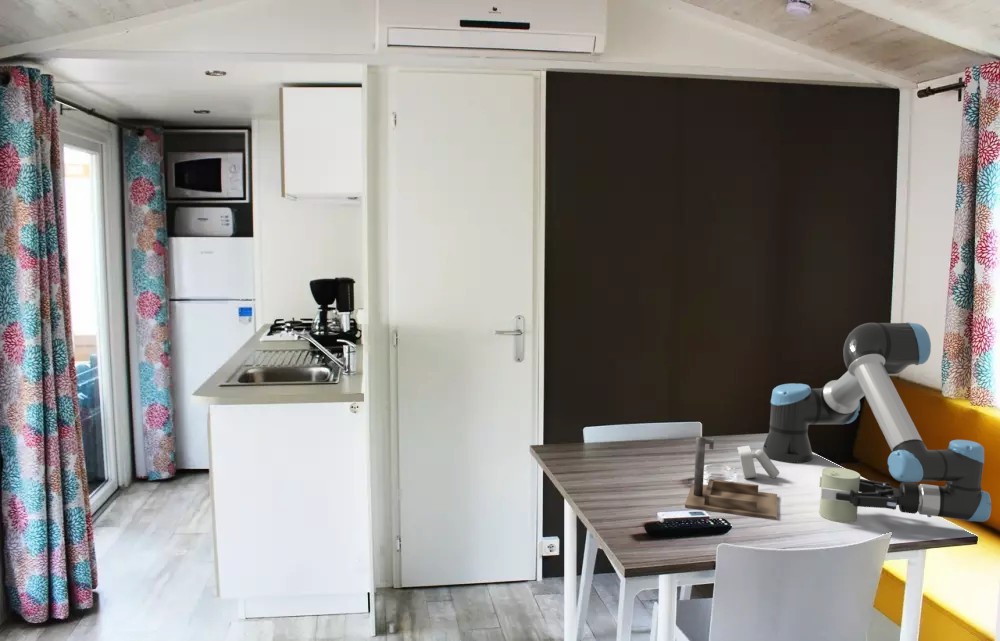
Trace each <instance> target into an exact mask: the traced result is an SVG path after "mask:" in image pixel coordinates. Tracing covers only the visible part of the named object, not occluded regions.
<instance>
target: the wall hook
mask: <svg viewBox="0 0 1000 641" xmlns="http://www.w3.org/2000/svg"><path fill="white" fill-rule="evenodd" d="M737 452H738V457H739V462H740V467H741V471H742V475H743V477H744V479H745V480H746V479H753V478H757V471H756V468H755V463H754V462H755V461H754V459H756V460H757V462H759V464H760V466H761V467H762V468H763V469H764V471H765V472H766V473H767V475H768V476H769V478H770V479H775V478H776V477H778V476H779V474H780V471H779V470H778V468H777V467H776V465H775V464H774V463H773V461H772V460H771V458H769V457H768V456H767V455H766V453H765V452H764V451H763V449H756V451H754V452H755V453H752V450H751V447H750V445H742V446H737Z"/></svg>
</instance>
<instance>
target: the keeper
mask: <svg viewBox="0 0 1000 641" xmlns="http://www.w3.org/2000/svg"><path fill="white" fill-rule="evenodd" d="M714 442H715V440H714V438H708V437H704V436H703V437H702V436H696V438H695V458H694V459H695V460H694V461H695V462H694V480H693V481H694V483H691V487H690V489H689V493H688V495H687V497H686V501H685V503H684V508H687V509H693V510H702V511H708V512H717V513H722V514H723V513H725V514H731V515H732V514H733V515H740V516H746V517H753V518H754V517H755V518H760V517H761V519H768V520H778V493H772V492H765V491H759V484H753V483H752V484H751V483H745V482H744V483H743V482H737V481H730V480H719V479H713V478H709V479H708V483H707V484H704V474H705V473H704V472H705V453H706V445H709V447H708V449H709V450H714V448H715V447H714Z"/></svg>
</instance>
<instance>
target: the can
mask: <svg viewBox="0 0 1000 641" xmlns="http://www.w3.org/2000/svg"><path fill="white" fill-rule="evenodd" d="M821 477H822V485H821V487H820V490H821V491H820V494H821V493H822V488H829V489H838V490H846V491H850V492H851V490H853V491H855V492H854V493H859V483H860V479H861V474H860V473H859V472H857V471H855V470H852V469H848V468H843V467H832V466H831V467H825V468H823V469H822V470H821ZM819 502H820V504H819V510H818V514H819V515H820V516H821V518H822V517H823V519H827V520H830V521H833V522H837V521H838V522H839V523H853V522H856V521H857V520H858V509H859V508H858V506H853V504H852V503H850V501H849V502H844V501H836V500H827V499H821V498H820V501H819Z"/></svg>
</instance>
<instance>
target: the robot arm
mask: <svg viewBox="0 0 1000 641" xmlns="http://www.w3.org/2000/svg"><path fill="white" fill-rule="evenodd" d="M931 343H932V342H931V338H930V335H929V333H928V331H927V329H926V328H925V327H924V326H923V325H922V324H919V323H915V322H912V323H911V322H907V321H906V322H867V323H863V324H860V325H858V326H856V327H855V328H854V329H852V330H851V331H850V332H849V334H848V335H847V337H846V338H845V342H844V344H843V350H842V351H843V353H842V354H843V362H844V364H845V367H846V369H847V371H846V372H845V373H844V374H842V376H841V377H840V378H838V379H835V380H834V379H833V380H830V381H828V382H827V383H825V385H824V386H822V388H821V387H820V388H811V387H810V386H809V384H805V383H795V382H794V383H784V384H780V385H777V386H776V387H774V388H773V389H772V393H771V399H770V420H769V430H768V431H769V432H768V433H767V437H766V439H765V442H764V443H763V445H762V450H763V451H764V452H765V453H766V455H767V456H768V457H769V459H770V460H771V459H772V460H775V461H779V462H780V461H781V462H787V463H807V462H809V461H811V460H812V459H813V450H812V446H811V443H810V439H809V435H808V431H809V426H810V425H811V426H812V425H813V426H814V425H838V426H839V425H842V426H843V425H845V424H846V425H847V424H851V423H852V422H854V421H855V420H857V417H858V416H859V415H860V414H859V411H860V410H861V401H860V400H861V399H862V398H864V397H865V400H866V401H867V403H868V405H869V407H870V409H871V412H872V413H873V416H874V418H875V419H876V422H877V423H878V426H879V428H880V430H881V432H882V434H883V435H884V437H885V438H884V439H885V440H886V442H887V444H888V447H889V448H890V450H891V452H890V454H889V456H888V458H887V465H888V471H889V474H890V475H891V476H892V478H893V479H894V480H896V481H898V482H900V484H899V487H898V488H896V487H893V486H891V483H890V482H882V481H875V480H870V479H863V478H860V483H859V493H854V492H855V491H853V490H851V492H850V491H846V490H838V489H829V488H822V493H821V492H820V500H821V499H827V500H836V501H844V502H849V501H850V503H852V504H853V506H858V507H859V508H861V507H862V508H878V509H879V508H880V509H881V508H882V509H887V510H889V509H890V510H897V506H898V509H899V511H900V512H901V513H906V514H912V515H913V514H914V515H915V514H917V513H918V514H919V515H925V516H927V517H928V518H931V517H940V518H948V519H952V520H953V519H955V520H960V521H961V520H962V521H965V522H986V521H988V520H989V519H990V517H991V512H992V500H991V496H990V493H989V492H988V491H985V490H982V478H983V471H984V465H985V448H984V446H983V445H982V444H981V443H979V442H976V441H973V440H967V439H954V440H951V441H949V444H948V447H947V449H928V448H927V446H926V445H925V443H924V441H923V439H922V437H921V435H920V434H919V431H918V429H917V427H916V426H915V422H913V420H912V418H911V416H910V414H909V412H908V410H907V408H906V406H905V404H904V402H903V400H902V398H901V397H900V395H899V393H898V391H897V388H896V387H895V385H894V383H893V381H892V379H891V377H890V375H892V376H893V375H898V374H900V373H901V372H903V371H904V370H906V368H908V367H909V366H911V365H915V366H919V365H924V364H926V362H928V360H929V358H930V355H931V351H932V350H931V348H932V347H931V346H932V344H931ZM919 482H945V486H940V485H933V484H927V483H920V484H917V483H919ZM821 485H822V475H821V476H819V488H821Z"/></svg>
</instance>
